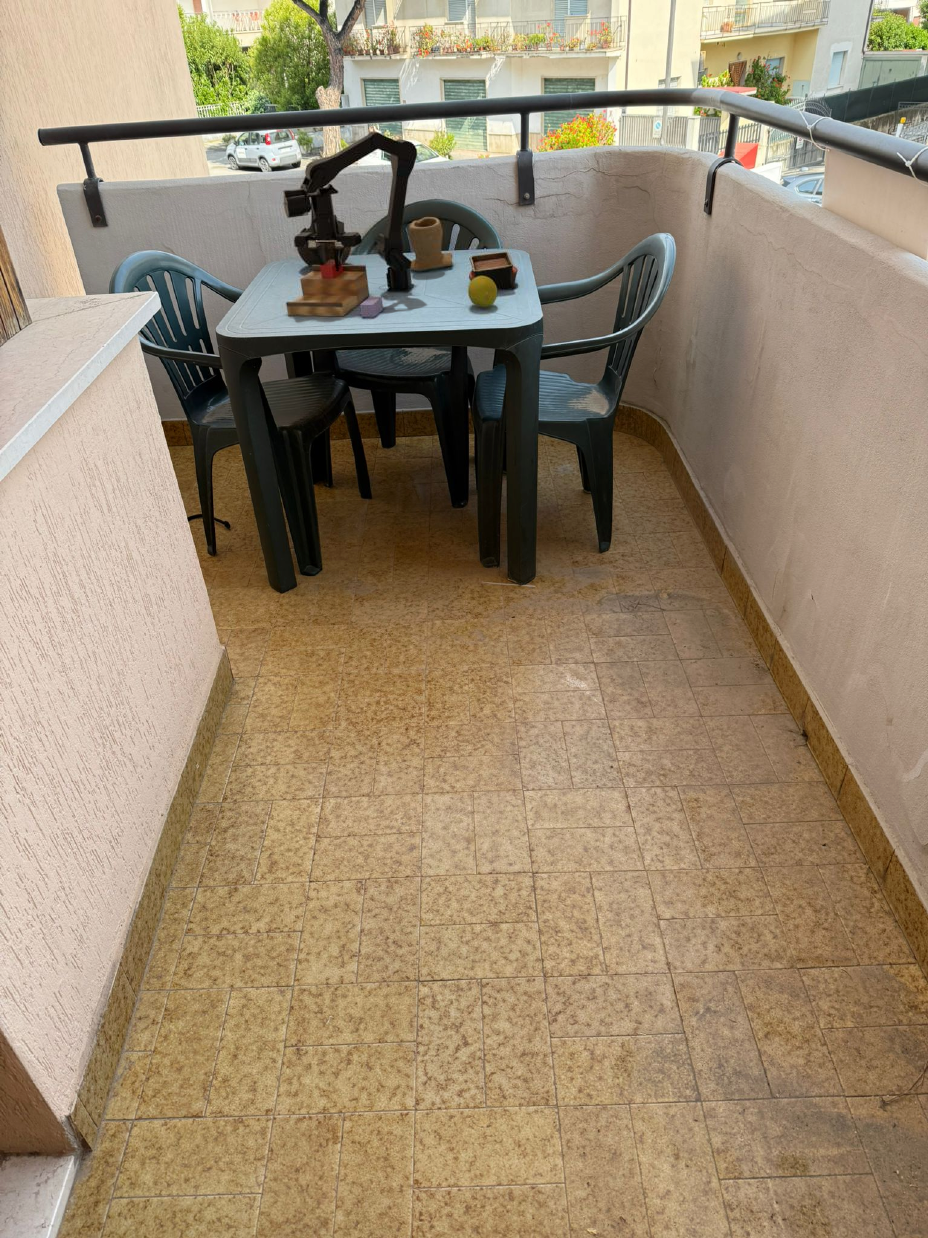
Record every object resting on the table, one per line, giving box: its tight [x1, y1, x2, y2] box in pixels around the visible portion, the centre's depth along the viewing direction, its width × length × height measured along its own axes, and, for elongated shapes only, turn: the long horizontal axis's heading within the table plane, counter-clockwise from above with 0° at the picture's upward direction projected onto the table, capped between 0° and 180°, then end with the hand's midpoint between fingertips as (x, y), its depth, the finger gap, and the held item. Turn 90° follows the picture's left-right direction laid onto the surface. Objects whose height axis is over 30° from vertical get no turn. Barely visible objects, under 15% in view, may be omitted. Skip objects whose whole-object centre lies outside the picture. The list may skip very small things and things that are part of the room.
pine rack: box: [285, 264, 370, 317], centre depth 241 cm, size 17×20×8 cm
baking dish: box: [468, 251, 519, 291], centre depth 248 cm, size 14×18×10 cm
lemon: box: [467, 276, 498, 308], centre depth 231 cm, size 11×8×8 cm
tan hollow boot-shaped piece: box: [408, 216, 453, 272], centre depth 265 cm, size 15×12×15 cm
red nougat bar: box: [320, 260, 343, 279], centre depth 242 cm, size 4×8×3 cm, turn 164°
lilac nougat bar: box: [359, 296, 384, 318], centre depth 233 cm, size 4×8×3 cm, turn 164°
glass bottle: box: [296, 187, 352, 268], centre depth 273 cm, size 18×18×28 cm
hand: (332, 271), depth 243 cm, fingers closed on red nougat bar, 3 cm apart
